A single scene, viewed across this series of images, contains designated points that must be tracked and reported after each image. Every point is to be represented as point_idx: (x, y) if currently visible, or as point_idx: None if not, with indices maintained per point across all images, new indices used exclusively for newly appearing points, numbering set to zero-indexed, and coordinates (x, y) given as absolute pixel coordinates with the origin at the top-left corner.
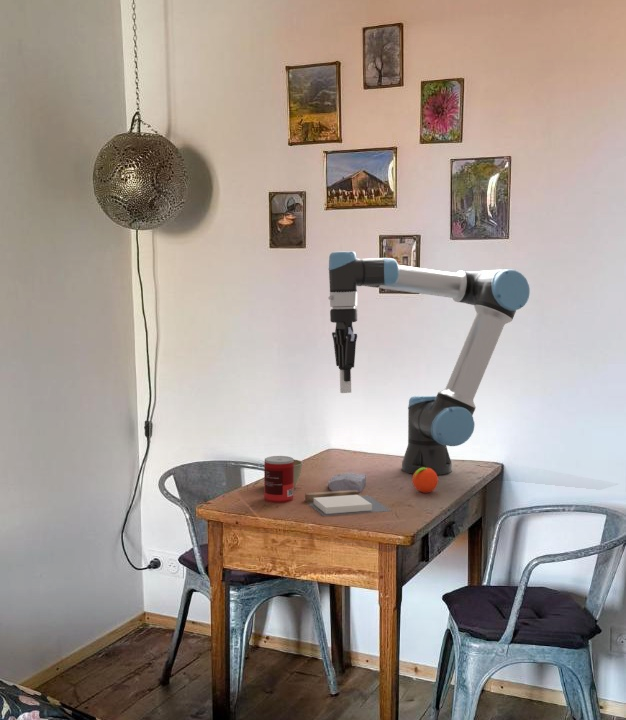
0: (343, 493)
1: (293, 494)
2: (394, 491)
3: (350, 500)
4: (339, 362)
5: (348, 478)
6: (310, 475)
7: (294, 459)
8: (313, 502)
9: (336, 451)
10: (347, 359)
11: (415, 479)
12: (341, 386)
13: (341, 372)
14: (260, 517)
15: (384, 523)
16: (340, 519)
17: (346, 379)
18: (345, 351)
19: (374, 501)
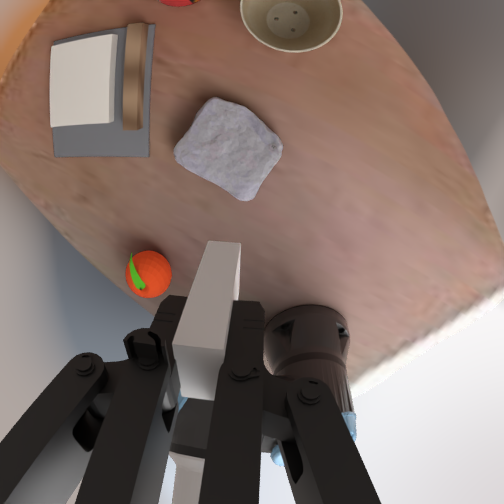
0: (123, 98)
1: (168, 4)
2: (174, 218)
3: (75, 97)
4: (232, 410)
5: (188, 136)
6: (377, 125)
7: (320, 45)
8: None
9: (499, 274)
10: (35, 411)
11: (140, 256)
12: (212, 262)
13: (184, 328)
14: None
15: (14, 125)
16: (39, 66)
17: (162, 307)
18: (19, 477)
19: (106, 150)
